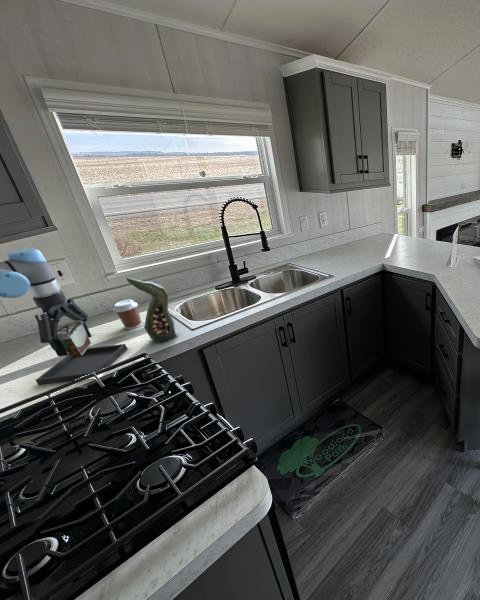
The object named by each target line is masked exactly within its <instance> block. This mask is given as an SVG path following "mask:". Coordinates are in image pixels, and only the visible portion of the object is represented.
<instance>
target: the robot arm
mask: <svg viewBox="0 0 480 600" xmlns="http://www.w3.org/2000/svg"><path fill="white" fill-rule="evenodd" d="M27 293H29V295H30V297H32V300H33V302H34V304H35V306H36V307H37V308H39V309H41V311H42V313H39V314H35V315H34V318H35V320H36V322H37V328H38V334H39V339H40V340H39V341H40V343H41V344H49V346H50V347H51V349H52V350H53V351H54V352H55V353H56V356H57V357H66V356H67V355H69V354H68V352H67V351H66V349H65V348H64V346H63V344H62V342H61V341H60V339H57V330H58V327H59V322H60V321H61V319H62V318H63V317H66V318H68V319H70V320H73V321H77V320H81V321H82V322H83V326H84V328H85V330H86V333H87V335H88V337H89V338H92V334H91V332H90V329H89V326H88V325H87V322H88V317H89V315H88V314H87V313H86V312H85V311H84V310H83V309H81V307H80V306H79V305H77V304H76V303H75V301H74V299H73V298H66V296H65V293H64V292H63V290H62V287H61V286H60V284H59V282H58V280H57V279H56V277H55V276H54V274H53V271H52V270H51V267H50V266H49V263H48V261H47V260H46V258H45V256H44V255H43V253H42V252H41V250H39V249H37V248H25V249H18V250H15V251H10V252H8V253H7V259H6V260H4V261H0V297H1V298H4V299H5V298H7V299H16V298H20V297H23V296H25V295H26V294H27Z"/></svg>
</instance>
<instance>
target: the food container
mask: <svg viewBox="0 0 480 600" xmlns="http://www.w3.org/2000/svg"><path fill="white" fill-rule="evenodd" d="M57 339H60V341H61V342H62V344H63V346H64V348H65V349H66V351H67V353H68V355H70V356H82V355H83V353H84V352H85V351H86V349H87V348H90V346H91V344H92V342H91V340H90V337H88V335H87V333H86V330H85V328H84V326H83V322H82V321H81V320H77V321H74V320H73V321H70V322H66V323H65V324H62V325H60V326H58V330H57Z"/></svg>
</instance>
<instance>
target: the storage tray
mask: <svg viewBox="0 0 480 600" xmlns="http://www.w3.org/2000/svg"><path fill="white" fill-rule="evenodd" d="M127 350H128V346H127V344H126V343H121V344H120V343H119V344H111V345H103V346H102V345H101V346H93V347H88V348H87V349H86V351H85V352H84V353H83V355H82V356H70V355H69V354H68V355H67V356H64V357H63V358H62V359H61V360H59V361H58V362H56V364H54V365H53V366H51V367H50V368H49V369H48V370H46V371H45V372H44V373H43V374H41V375H40V376H39V377H37V378H36V379H35V382H36V383H37V385H38V386H47V385H55V384H63V383H70V382H71V381H72V382H75V381H74V380H75V379H78V378H80V377H82V376H85V375H88V374H91V373H93V372H97V371H99V370H101V369H103V368H106V367H108V366H109V367H111V366H112V364H113V363H114V362H116V361H117V360H118V359H119V358H120V357H121V356H122V355H123V354H124V353H125V352H126V351H127ZM109 367H108V368H109Z"/></svg>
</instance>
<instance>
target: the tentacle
mask: <svg viewBox="0 0 480 600" xmlns="http://www.w3.org/2000/svg"><path fill="white" fill-rule="evenodd" d="M125 279H126V281H127V282H128V283H129V284H130V285H132V286H133V287H135V288H136V289H137V290H139V291H142V292H144V293H146V294H148V295H150V296H151V298H152V299H151V301H150V303H149V305H148V308H147V311H146V316H145V320H144V325H143V327H144V330H145V331H146V333H147V335H148V337H149V338H150V339H151V340H153V341H155V342H157V343H164V342H167V341H170V340H172V339H174V338H176V337H177V333H176V329H175V328H176V327H175V321H174V319H173V317H172V315H171V313H170V311H169V296H170V295H169V292H168V291H167V289H166V288H165V287H164V285H160V284H159V283H155V282H152V281H143V280H140V279H136V278H132V277H125Z"/></svg>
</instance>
